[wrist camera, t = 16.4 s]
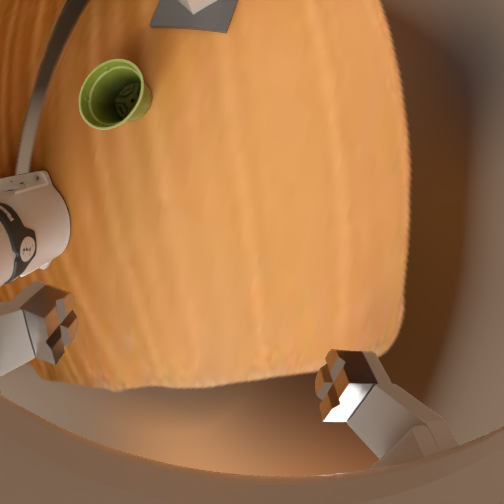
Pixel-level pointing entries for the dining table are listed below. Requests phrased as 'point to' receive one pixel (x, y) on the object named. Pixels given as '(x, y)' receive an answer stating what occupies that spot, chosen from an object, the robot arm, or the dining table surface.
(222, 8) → the plate
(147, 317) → the dining table surface
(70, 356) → the dining table surface
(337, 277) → the dining table surface
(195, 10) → the shaker
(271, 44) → the dining table surface
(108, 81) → the plant pot
